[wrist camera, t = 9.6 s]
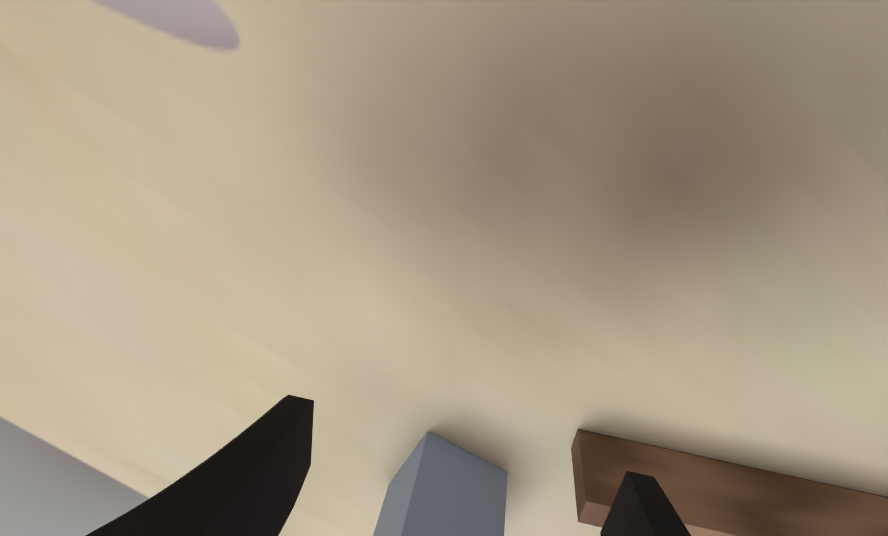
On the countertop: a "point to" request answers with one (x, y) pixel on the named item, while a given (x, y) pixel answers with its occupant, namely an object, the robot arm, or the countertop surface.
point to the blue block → (444, 494)
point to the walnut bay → (721, 493)
